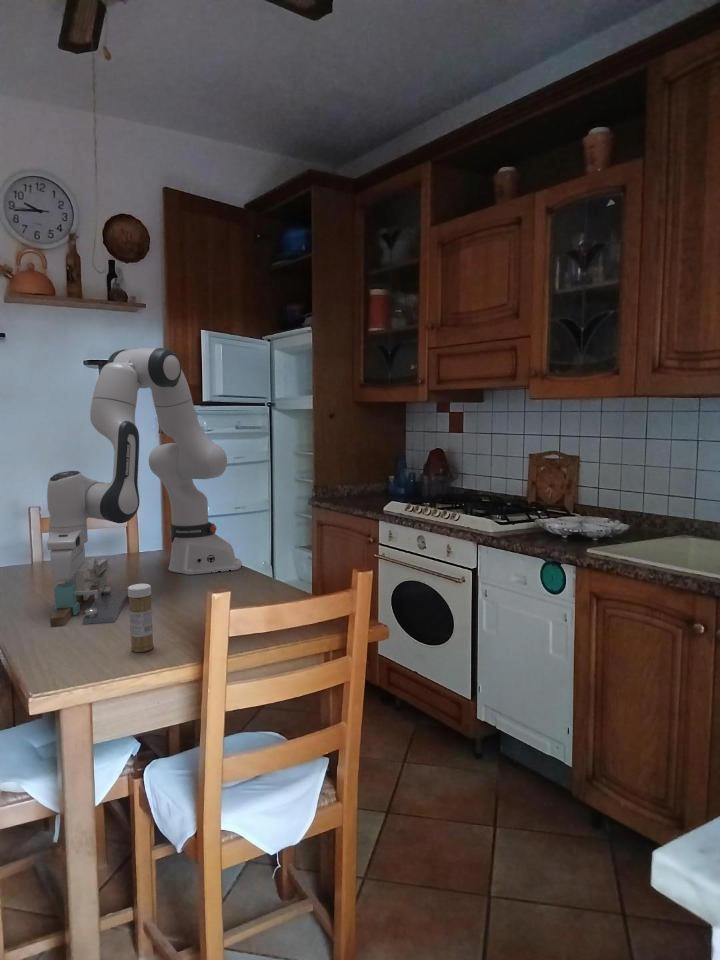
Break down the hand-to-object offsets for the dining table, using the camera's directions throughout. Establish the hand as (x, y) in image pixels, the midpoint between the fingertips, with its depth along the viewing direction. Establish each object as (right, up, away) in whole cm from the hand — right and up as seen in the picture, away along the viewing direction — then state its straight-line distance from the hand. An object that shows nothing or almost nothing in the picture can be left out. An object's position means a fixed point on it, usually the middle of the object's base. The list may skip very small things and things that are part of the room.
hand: (71, 589), depth 173 cm
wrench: (-4, -2, +29) cm, 30 cm away
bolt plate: (+10, -4, -2) cm, 11 cm away
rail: (+1, -5, -4) cm, 6 cm away
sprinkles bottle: (+28, -7, -31) cm, 43 cm away
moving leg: (+4, -5, -6) cm, 8 cm away
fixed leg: (+1, -3, +7) cm, 8 cm away
